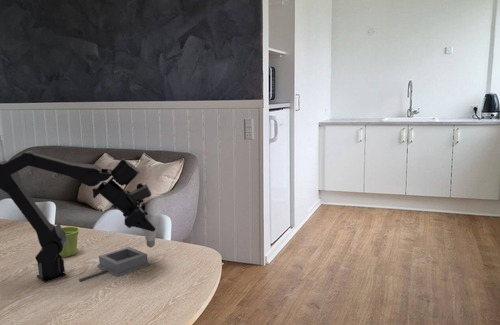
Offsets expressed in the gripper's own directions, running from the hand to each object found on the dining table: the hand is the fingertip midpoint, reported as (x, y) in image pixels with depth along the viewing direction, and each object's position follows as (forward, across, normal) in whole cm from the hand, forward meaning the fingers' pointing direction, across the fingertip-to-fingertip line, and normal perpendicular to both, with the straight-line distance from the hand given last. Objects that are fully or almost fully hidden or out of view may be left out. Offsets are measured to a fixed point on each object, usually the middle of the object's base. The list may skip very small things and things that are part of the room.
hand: (154, 227), depth 140 cm
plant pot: (-12, +19, +31) cm, 38 cm away
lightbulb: (+4, 0, +6) cm, 7 cm away
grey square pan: (-1, 0, +19) cm, 19 cm away
